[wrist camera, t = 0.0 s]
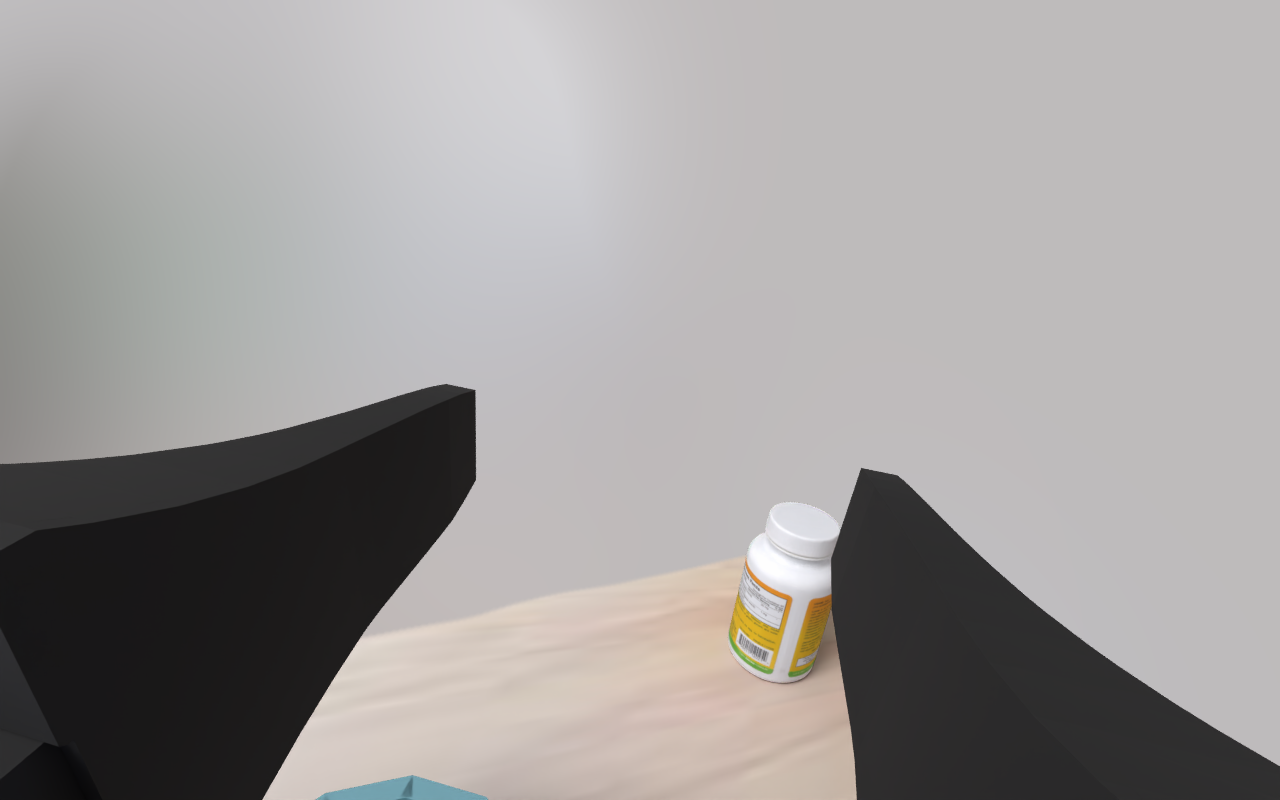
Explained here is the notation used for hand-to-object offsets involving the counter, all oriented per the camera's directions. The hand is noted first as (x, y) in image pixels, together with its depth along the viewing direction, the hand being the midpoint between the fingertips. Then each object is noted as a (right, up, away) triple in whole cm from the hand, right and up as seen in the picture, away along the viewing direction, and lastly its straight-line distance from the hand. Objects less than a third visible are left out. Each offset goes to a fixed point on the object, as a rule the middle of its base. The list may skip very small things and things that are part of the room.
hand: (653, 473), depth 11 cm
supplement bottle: (+8, -15, +26) cm, 31 cm away
